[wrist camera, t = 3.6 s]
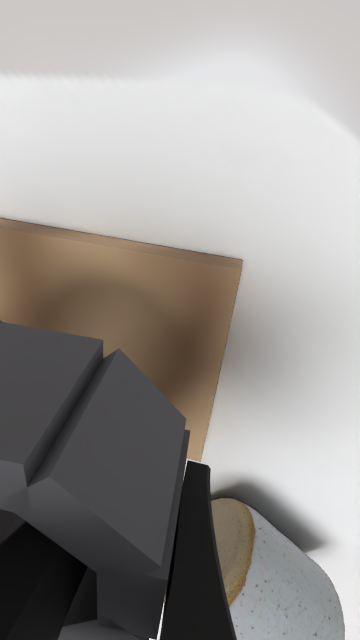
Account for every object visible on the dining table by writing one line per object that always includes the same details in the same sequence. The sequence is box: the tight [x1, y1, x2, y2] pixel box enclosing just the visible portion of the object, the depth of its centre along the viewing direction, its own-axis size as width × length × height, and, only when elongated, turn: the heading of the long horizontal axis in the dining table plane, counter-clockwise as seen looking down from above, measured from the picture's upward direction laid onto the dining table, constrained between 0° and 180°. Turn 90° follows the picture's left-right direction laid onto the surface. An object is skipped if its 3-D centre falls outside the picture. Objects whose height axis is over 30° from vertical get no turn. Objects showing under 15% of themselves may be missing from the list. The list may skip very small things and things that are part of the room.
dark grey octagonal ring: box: [0, 322, 191, 640], centre depth 10 cm, size 8×8×4 cm
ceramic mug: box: [164, 498, 345, 640], centre depth 20 cm, size 10×8×7 cm
